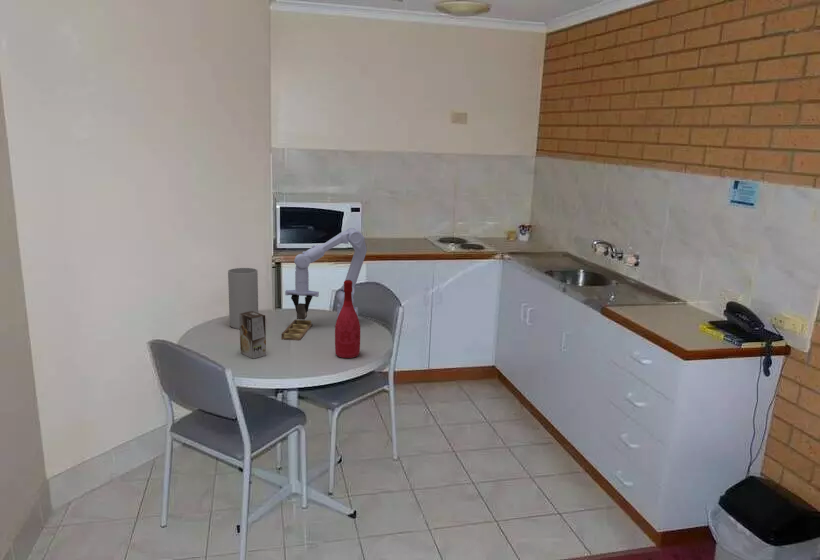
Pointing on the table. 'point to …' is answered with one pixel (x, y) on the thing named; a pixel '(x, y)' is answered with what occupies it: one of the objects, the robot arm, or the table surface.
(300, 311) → the black box
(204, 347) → the table surface
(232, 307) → the cylinder vase
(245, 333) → the coffee box
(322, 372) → the table surface
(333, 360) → the table surface
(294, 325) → the rack
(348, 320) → the wine bottle
